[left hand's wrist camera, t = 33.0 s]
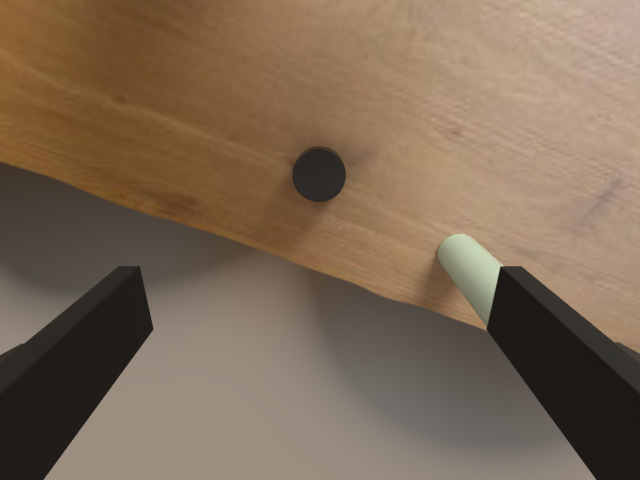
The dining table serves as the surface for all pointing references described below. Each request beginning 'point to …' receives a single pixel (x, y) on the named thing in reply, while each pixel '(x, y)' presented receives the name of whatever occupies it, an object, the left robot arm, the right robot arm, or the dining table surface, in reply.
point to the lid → (319, 174)
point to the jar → (471, 271)
